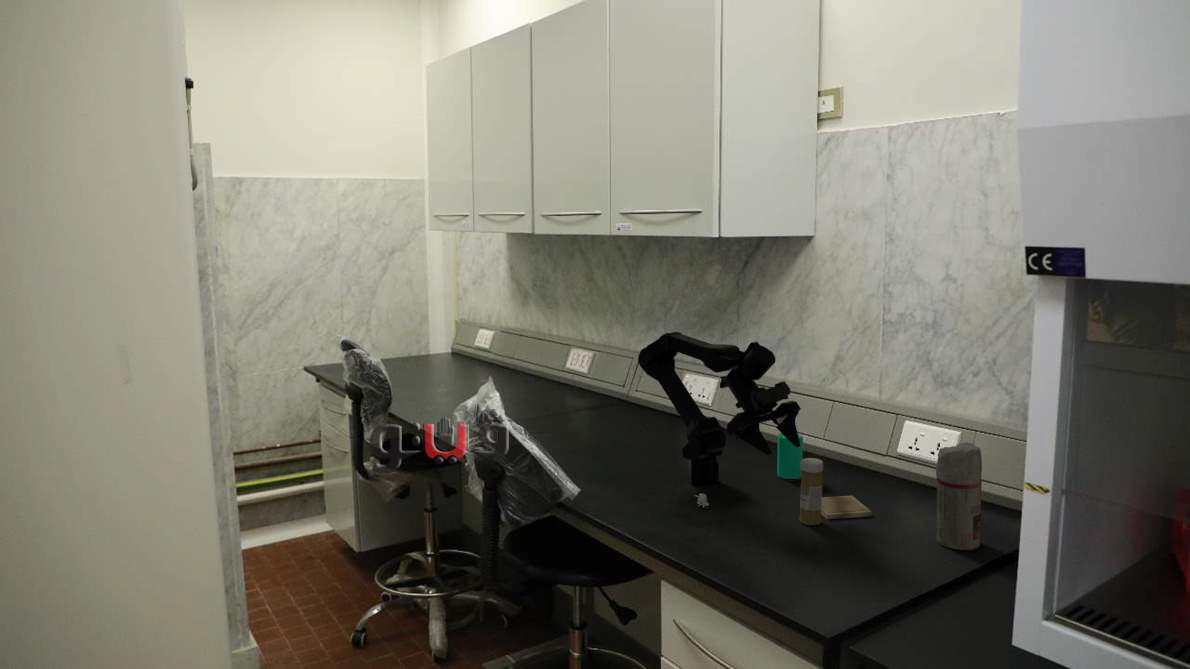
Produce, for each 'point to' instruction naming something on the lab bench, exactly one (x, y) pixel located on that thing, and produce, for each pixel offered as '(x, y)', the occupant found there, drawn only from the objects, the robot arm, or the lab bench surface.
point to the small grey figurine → (702, 500)
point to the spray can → (959, 496)
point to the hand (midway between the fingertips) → (784, 450)
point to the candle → (789, 458)
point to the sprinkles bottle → (811, 491)
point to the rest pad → (843, 507)
